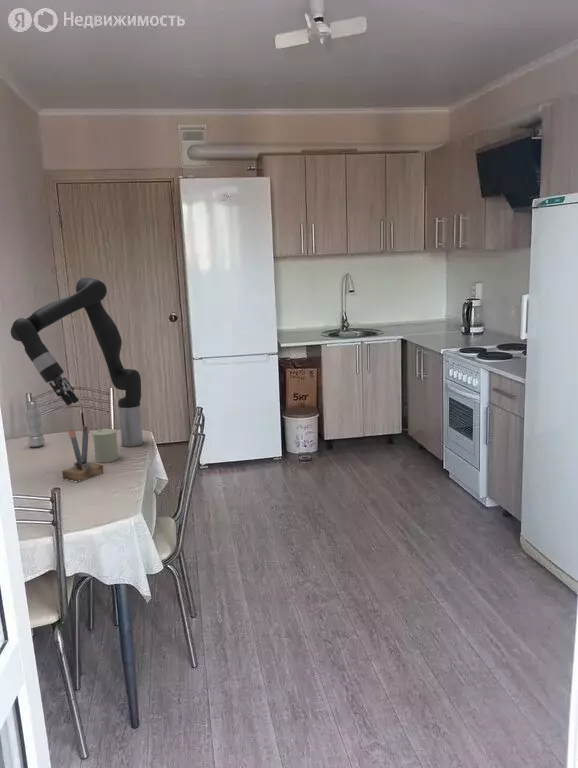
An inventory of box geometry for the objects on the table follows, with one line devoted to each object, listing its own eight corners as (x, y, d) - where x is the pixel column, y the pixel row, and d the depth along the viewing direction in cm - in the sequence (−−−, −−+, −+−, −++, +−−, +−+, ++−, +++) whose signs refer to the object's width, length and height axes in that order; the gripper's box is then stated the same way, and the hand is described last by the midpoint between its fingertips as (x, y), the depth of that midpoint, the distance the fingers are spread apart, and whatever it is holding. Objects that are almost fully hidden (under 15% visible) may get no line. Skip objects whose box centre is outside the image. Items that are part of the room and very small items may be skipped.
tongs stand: (89, 469, 240) (88, 457, 239) (103, 472, 236) (102, 460, 235) (63, 478, 231) (61, 465, 230) (77, 482, 226) (75, 469, 225)
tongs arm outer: (79, 466, 233) (69, 429, 228) (84, 467, 232) (74, 430, 227) (77, 467, 232) (67, 430, 227) (82, 468, 231) (72, 431, 226)
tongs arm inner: (82, 465, 234) (84, 426, 234) (87, 466, 233) (89, 426, 232) (80, 465, 234) (82, 426, 233) (85, 467, 232) (87, 427, 231)
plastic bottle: (25, 448, 271) (20, 403, 268) (36, 443, 278) (31, 399, 274) (38, 449, 270) (33, 403, 266) (48, 444, 276) (43, 400, 272)
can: (107, 454, 259) (105, 426, 257) (123, 457, 254) (121, 429, 252) (90, 460, 251) (87, 432, 249) (106, 464, 247) (103, 434, 244)
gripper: (50, 362, 224) (76, 399, 226) (62, 360, 238) (86, 396, 240) (33, 373, 224) (59, 410, 225) (45, 371, 238) (70, 406, 240)
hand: (73, 403), depth 233 cm, fingers open, 8 cm apart
